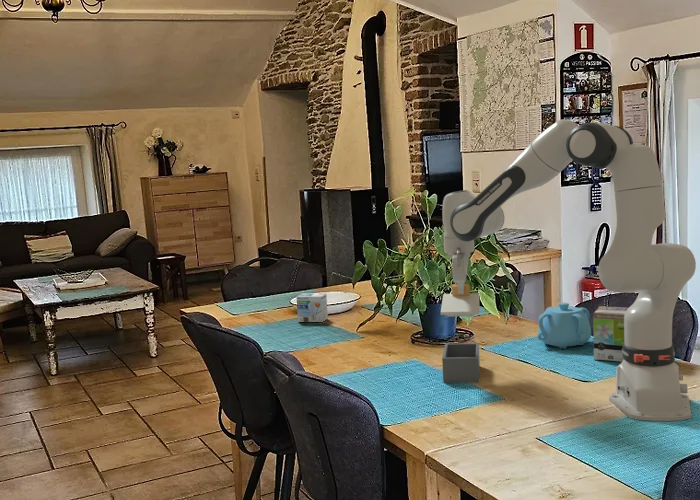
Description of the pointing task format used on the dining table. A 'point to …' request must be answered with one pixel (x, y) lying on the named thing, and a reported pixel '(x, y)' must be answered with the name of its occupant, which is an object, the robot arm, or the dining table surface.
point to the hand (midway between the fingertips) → (461, 292)
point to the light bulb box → (312, 307)
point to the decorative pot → (564, 326)
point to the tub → (461, 363)
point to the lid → (460, 302)
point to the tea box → (609, 333)
